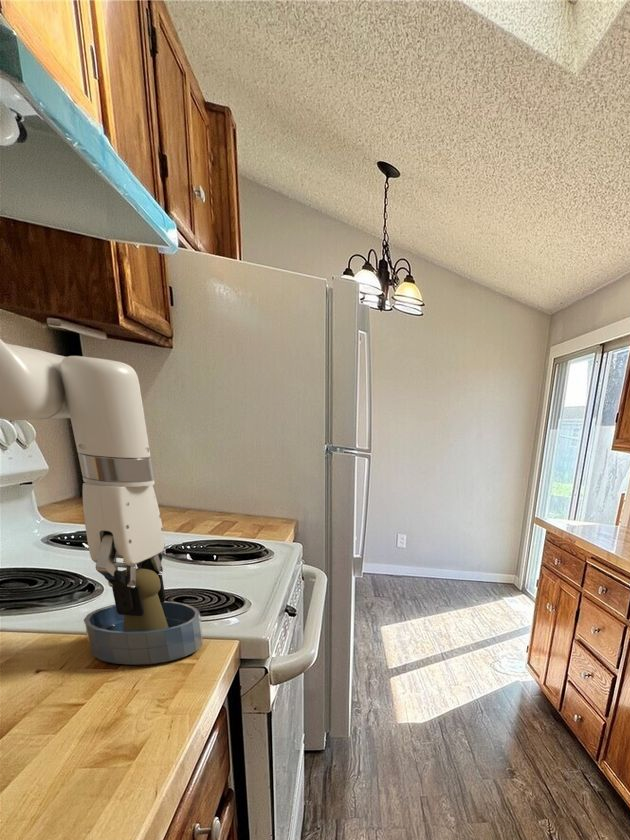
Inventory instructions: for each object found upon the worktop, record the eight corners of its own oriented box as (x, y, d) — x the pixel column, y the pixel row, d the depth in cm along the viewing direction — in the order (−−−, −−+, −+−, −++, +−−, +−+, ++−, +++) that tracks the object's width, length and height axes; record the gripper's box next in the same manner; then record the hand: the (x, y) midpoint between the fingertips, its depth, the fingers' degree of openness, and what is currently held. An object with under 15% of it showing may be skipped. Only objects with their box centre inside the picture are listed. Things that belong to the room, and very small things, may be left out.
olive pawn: (128, 656, 76) (113, 578, 71) (120, 641, 80) (105, 566, 75) (178, 649, 80) (166, 574, 75) (168, 635, 84) (156, 563, 79)
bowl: (69, 664, 73) (60, 628, 71) (125, 628, 85) (119, 597, 83) (178, 671, 75) (172, 636, 73) (218, 635, 87) (214, 604, 85)
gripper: (123, 462, 77) (145, 588, 85) (38, 473, 62) (75, 626, 69) (180, 468, 78) (197, 592, 86) (111, 480, 62) (139, 631, 70)
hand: (142, 606), depth 77 cm, fingers closed on olive pawn, 5 cm apart
